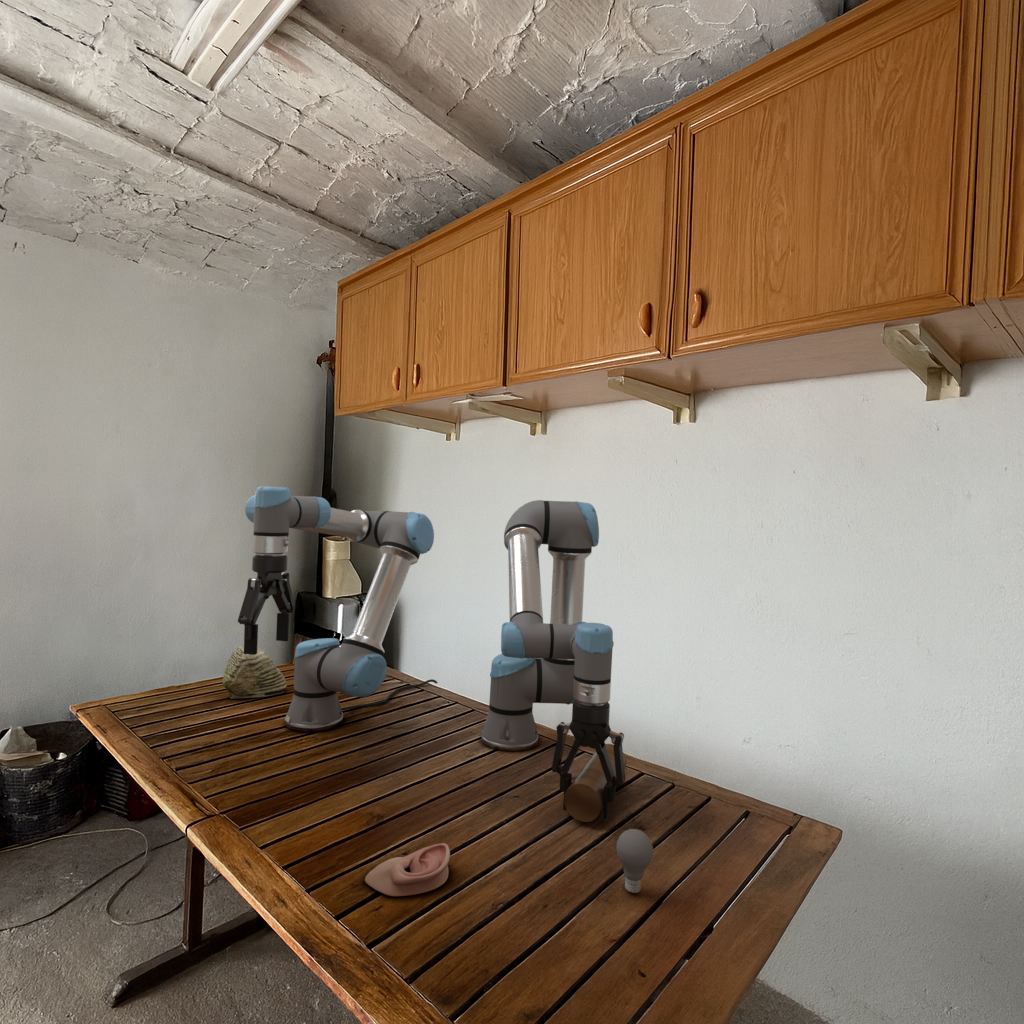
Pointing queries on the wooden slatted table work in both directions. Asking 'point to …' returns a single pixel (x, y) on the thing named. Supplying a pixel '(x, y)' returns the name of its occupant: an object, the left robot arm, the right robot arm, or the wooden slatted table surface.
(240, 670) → the fossil
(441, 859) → the anatomical model
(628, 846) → the light bulb
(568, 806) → the rod
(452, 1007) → the wooden slatted table surface
